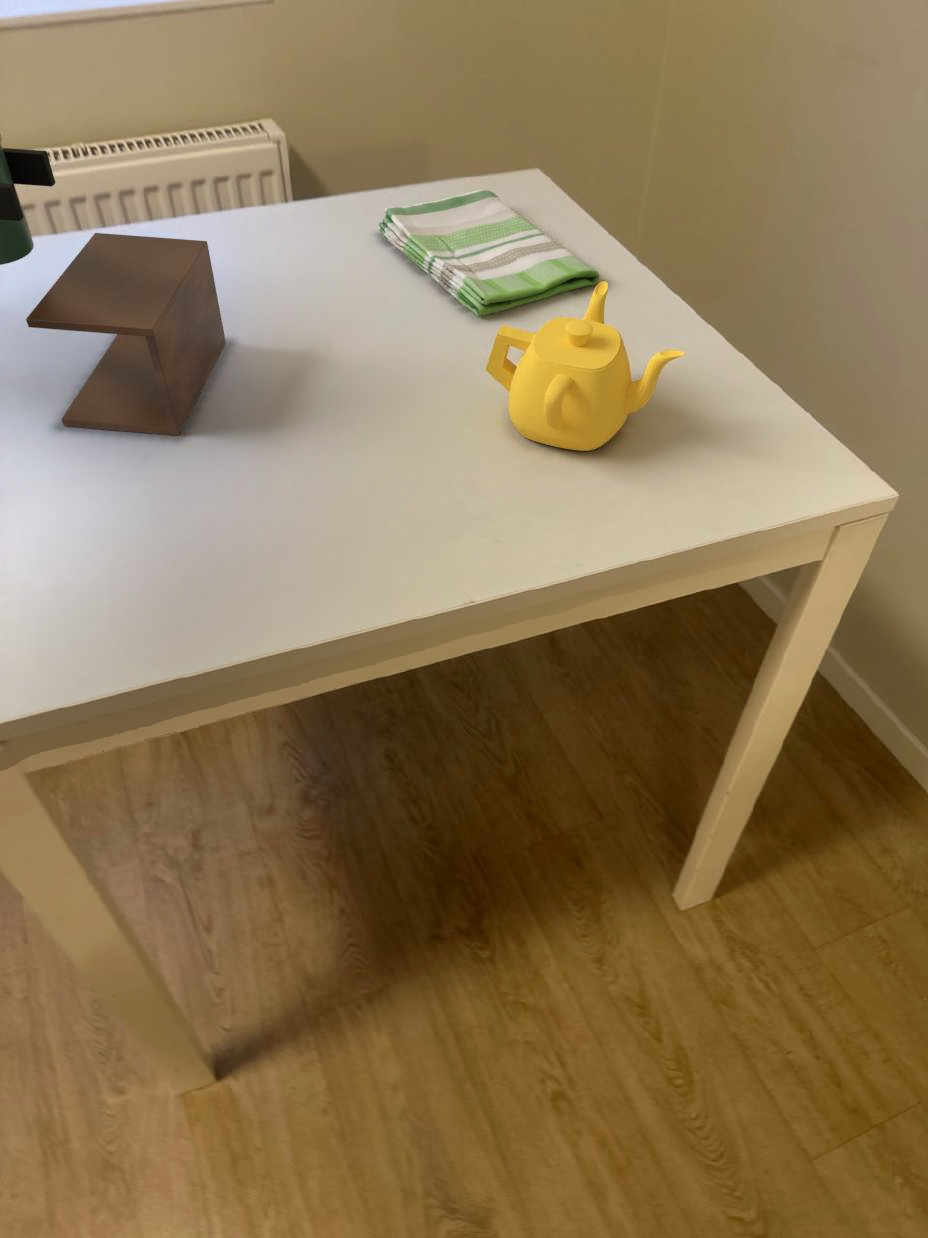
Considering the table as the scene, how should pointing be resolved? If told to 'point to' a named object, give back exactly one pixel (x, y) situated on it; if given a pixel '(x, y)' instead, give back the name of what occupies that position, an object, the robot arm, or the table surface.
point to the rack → (139, 329)
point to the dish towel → (484, 251)
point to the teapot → (572, 378)
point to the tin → (12, 225)
